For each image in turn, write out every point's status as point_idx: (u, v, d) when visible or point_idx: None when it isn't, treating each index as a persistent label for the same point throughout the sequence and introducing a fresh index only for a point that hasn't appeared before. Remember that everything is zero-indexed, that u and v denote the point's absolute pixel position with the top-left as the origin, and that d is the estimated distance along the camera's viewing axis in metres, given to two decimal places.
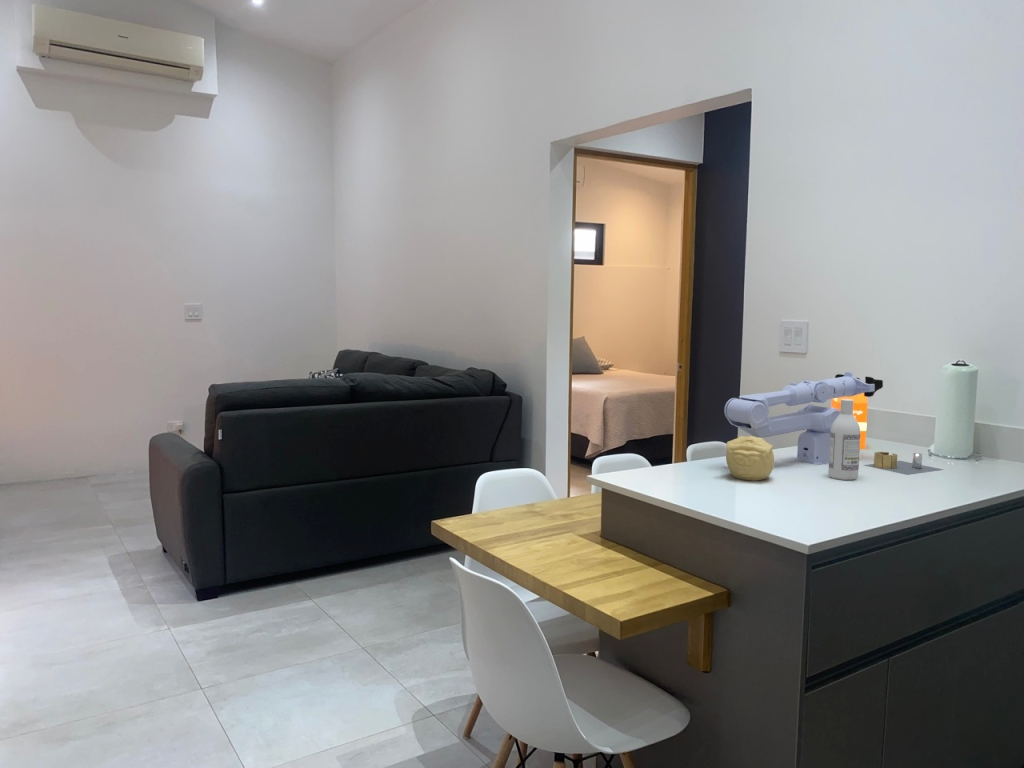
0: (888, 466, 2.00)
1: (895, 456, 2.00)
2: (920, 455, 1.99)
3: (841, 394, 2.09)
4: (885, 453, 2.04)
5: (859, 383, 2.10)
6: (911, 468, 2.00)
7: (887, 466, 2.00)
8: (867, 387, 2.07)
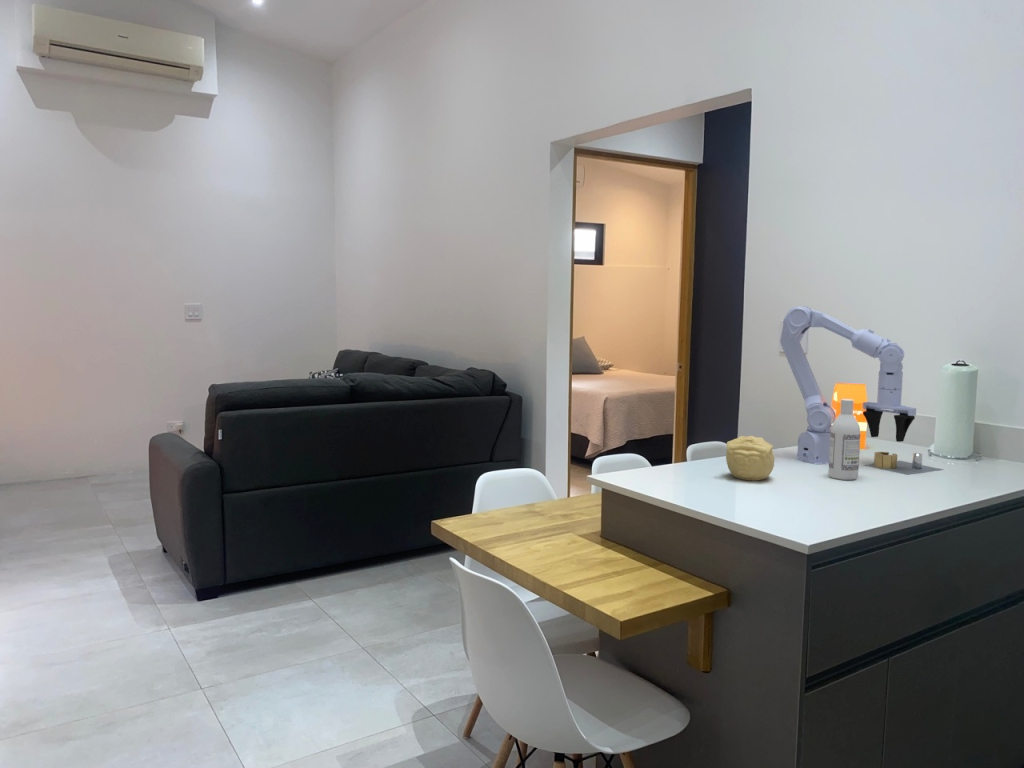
0: (888, 466, 2.00)
1: (895, 456, 2.00)
2: (920, 455, 1.99)
3: (883, 385, 1.99)
4: (885, 453, 2.04)
5: None
6: (911, 468, 2.00)
7: (887, 466, 2.00)
8: None
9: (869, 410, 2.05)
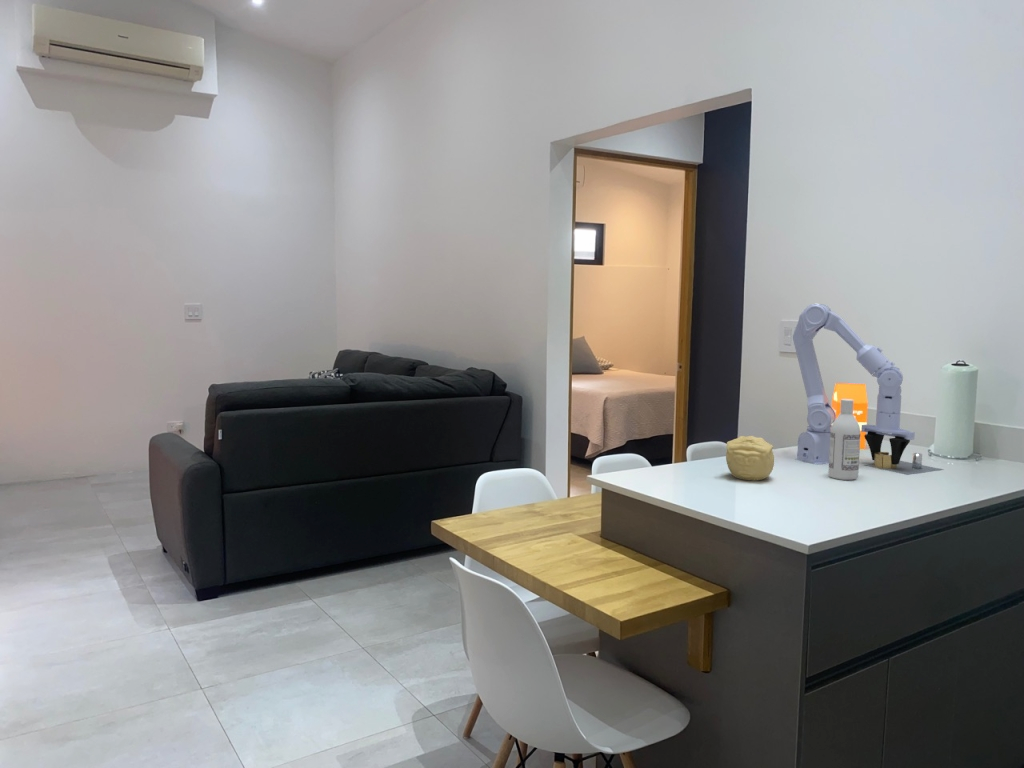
0: (888, 466, 2.00)
1: None
2: (920, 455, 1.99)
3: (881, 409, 1.99)
4: (885, 453, 2.04)
5: None
6: (911, 468, 2.00)
7: (887, 466, 2.00)
8: None
9: (868, 433, 2.05)
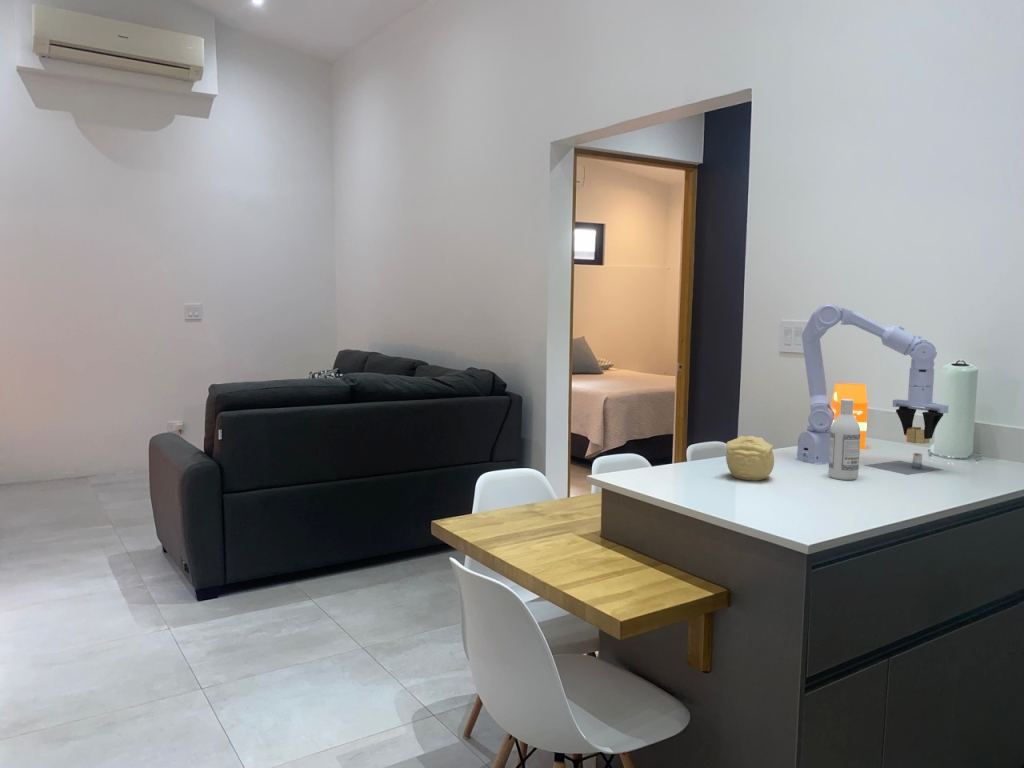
0: (921, 441, 1.97)
1: None
2: (920, 455, 1.99)
3: (915, 382, 1.97)
4: (917, 428, 2.01)
5: None
6: (911, 468, 2.00)
7: (920, 441, 1.97)
8: None
9: (899, 407, 2.03)
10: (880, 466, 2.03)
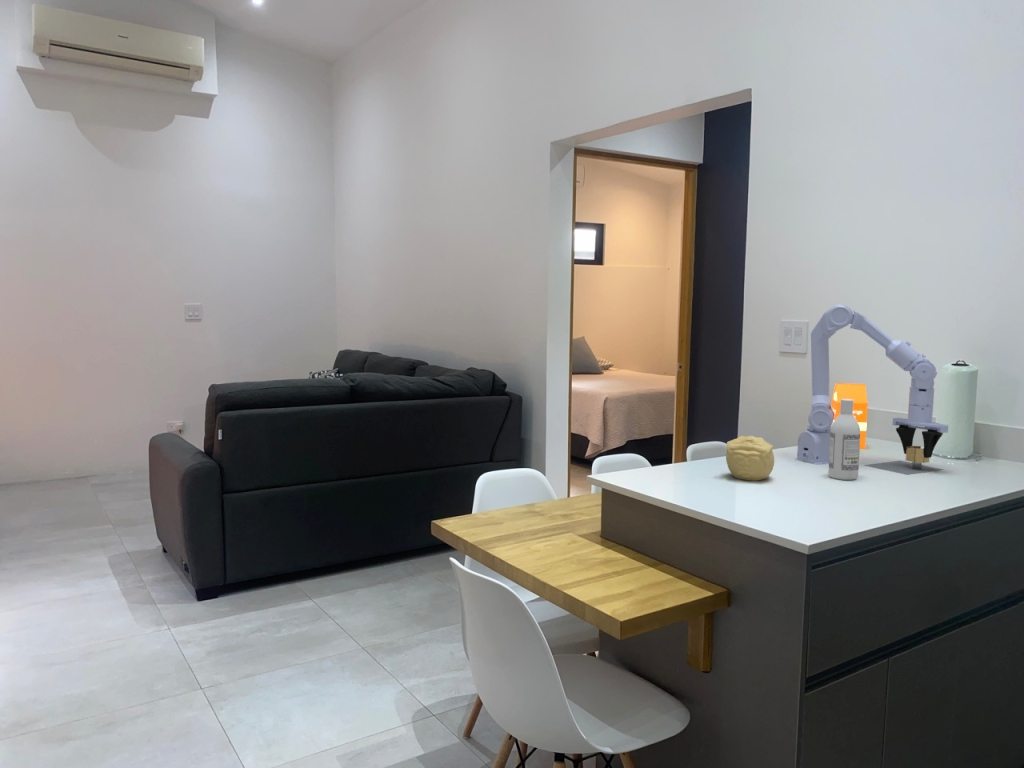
0: (921, 460, 1.98)
1: None
2: None
3: (915, 401, 1.97)
4: (917, 447, 2.02)
5: None
6: (911, 468, 2.00)
7: (920, 460, 1.98)
8: None
9: (899, 426, 2.04)
10: (880, 466, 2.03)
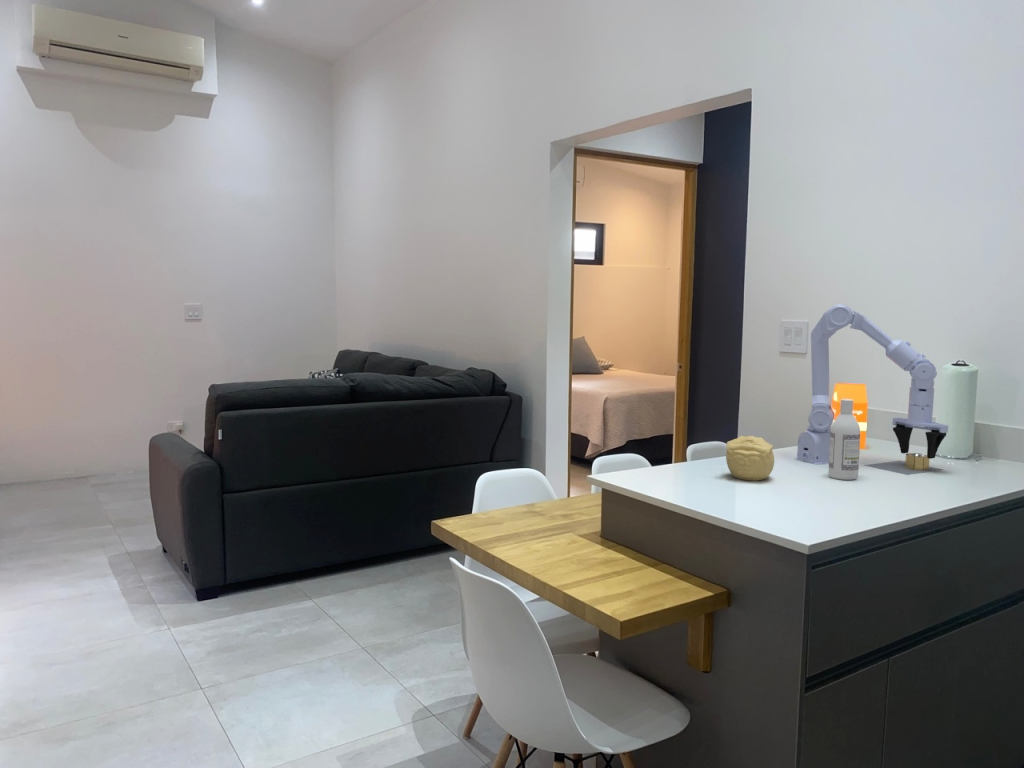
0: (920, 468, 1.98)
1: (927, 458, 1.98)
2: (920, 455, 1.99)
3: (915, 401, 1.97)
4: None
5: None
6: None
7: (919, 468, 1.98)
8: None
9: (899, 426, 2.04)
10: (880, 466, 2.03)
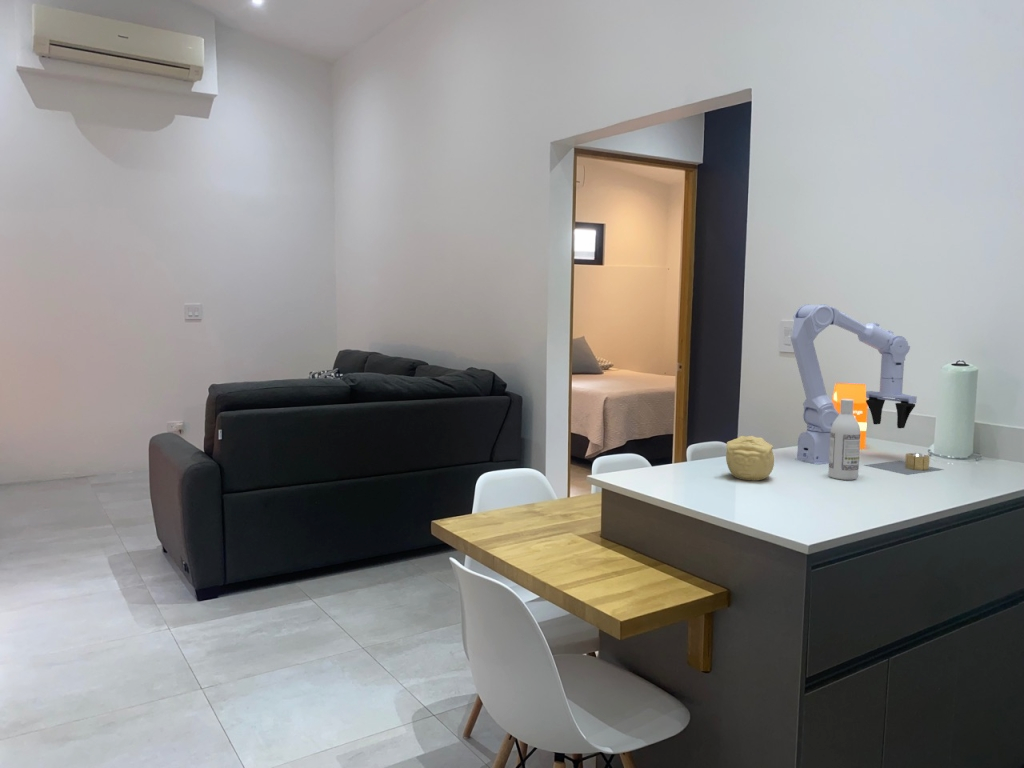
0: (920, 468, 1.98)
1: (927, 458, 1.98)
2: (920, 455, 1.99)
3: (892, 375, 2.08)
4: None
5: None
6: None
7: (919, 468, 1.98)
8: None
9: (872, 399, 2.15)
10: (880, 466, 2.03)
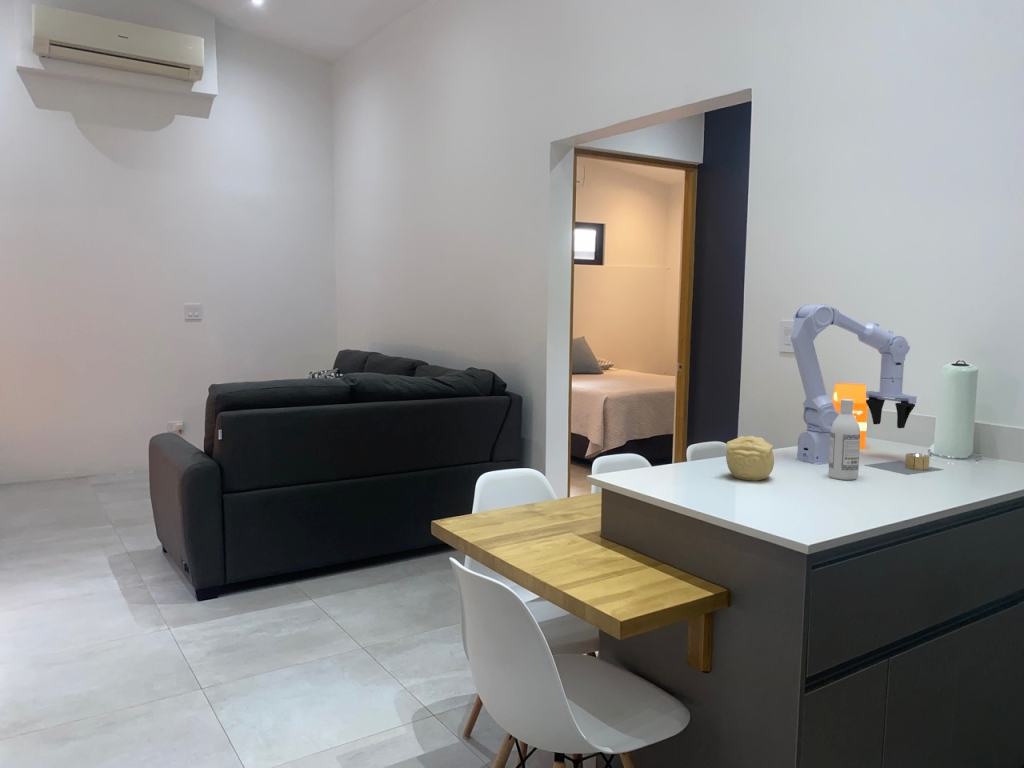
0: (920, 468, 1.98)
1: (927, 458, 1.98)
2: (920, 455, 1.99)
3: (891, 375, 2.08)
4: None
5: None
6: None
7: (919, 468, 1.98)
8: None
9: (872, 399, 2.15)
10: (880, 466, 2.03)
